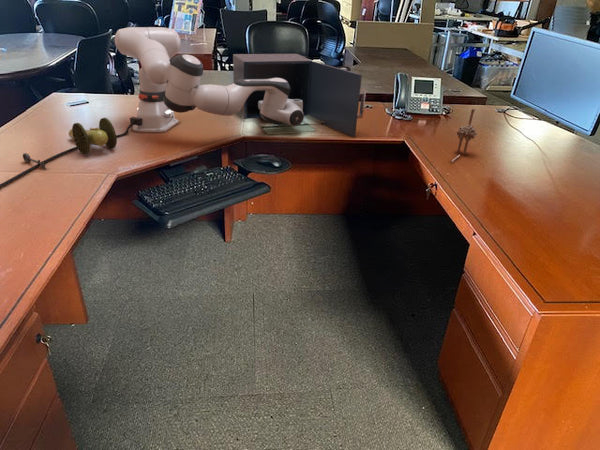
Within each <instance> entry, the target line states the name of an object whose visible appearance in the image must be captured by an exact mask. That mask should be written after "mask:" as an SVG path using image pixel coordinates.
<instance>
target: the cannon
mask: <svg viewBox="0 0 600 450" xmlns="http://www.w3.org/2000/svg"><path fill="white" fill-rule="evenodd" d="M116 135H117V133H116V130H115V127H114V125H113V124H112V121H111V120H109V118H107V117H102V118H100V120H99V122H98V127H89V129H85V128H84V126H83V125H82V124H81V123H79V122H74V123H73V124H72V126H71V129H70V130H69V131H68V136H69V138H70V139H72V140H73V141H74V144H75V147H77V148H78V149H77V150H78V151H79V152H80V154H81V155H84V156H86V155H89V154H90V152H91V145H93V146H98V147H103V146H106V147H107V148H108V149H110V150H111V149H115V148H116V146H117V144H118V137H117V138H116ZM90 144H91V145H90Z"/></svg>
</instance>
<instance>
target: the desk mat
mask: <svg viewBox="0 0 600 450" xmlns="http://www.w3.org/2000/svg"><path fill="white" fill-rule="evenodd" d="M261 129H262V130H263V131H264V132H265V133H266V134H267V135H268V136H269V135H282V134H283V135H285V134H293V133H294V134H295V133H308V132H316V130H317V129H314V128H313V127H312V126H310V124H308V123H301V124H300V125H298V126H291V125H289V124H281V125H266V126H265V125H263V126H261Z"/></svg>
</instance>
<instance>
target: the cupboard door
mask: <svg viewBox="0 0 600 450" xmlns="http://www.w3.org/2000/svg"><path fill="white" fill-rule="evenodd" d="M336 67H337V66H332V65H328V64H325V63H321V62H319V61H318V62H317V61H313V60H312V72H311V89H310V106H309V115H308V117H310V118H313V119H315V120H317V121H319V122H321V124H322V125H325V126H327V127H329V128H332V129H334V130H336V131H338V132H341V133H343V134H345V135H347V136H350V137H352V138H355V137H356V132H357V123H358V119H363V117H364V108H365V101H366V93H367V90H366V89H365V88H363V89H361V87H362V79H363V74H361V73H357V72H353V71H347V70H343V69H340V68H336ZM359 105H360V106H359Z"/></svg>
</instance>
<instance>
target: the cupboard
mask: <svg viewBox="0 0 600 450" xmlns="http://www.w3.org/2000/svg"><path fill="white" fill-rule="evenodd" d="M312 62H313V60H311V59H309V58H308V57H305V56H303V55H301V54H298V53H233V54H232V67H233V68H232V70H233V71H232V73H233V83H234V82H235V81H236V80H239V79H268V78H282V79H284V80H286V81H288V83H289V85H290V88H291V91H290V93H289V96H288V99H300V100H302V101H303V113H304V117H305V116H309V106H310V89H311V72H312ZM265 92H266V90H260V91H254V92H252V93H251V94H250V95H249V97H248V98H247V100H246V101H245V103H244V105H243V107H242V108H241V109H240V111H238V112H237V113H238V114H239V115H240V116H241V117H242V119H244V120H250V119H263V118H262V116H261V115H260V109H259V108H258V102H259V101H263V99H264V95H265Z"/></svg>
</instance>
